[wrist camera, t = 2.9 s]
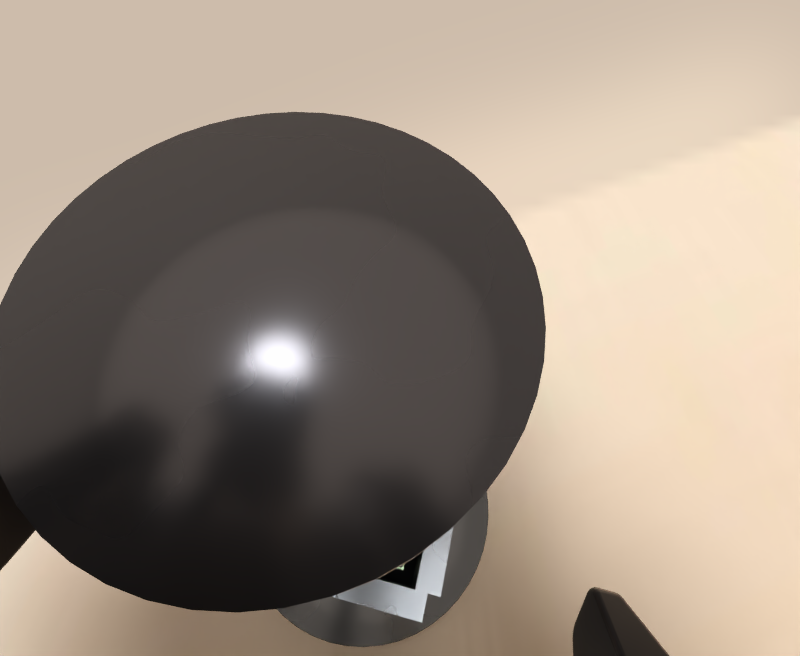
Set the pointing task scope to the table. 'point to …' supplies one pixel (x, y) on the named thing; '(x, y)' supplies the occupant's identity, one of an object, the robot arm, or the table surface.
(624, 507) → the table surface
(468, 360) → the column
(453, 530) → the stand
